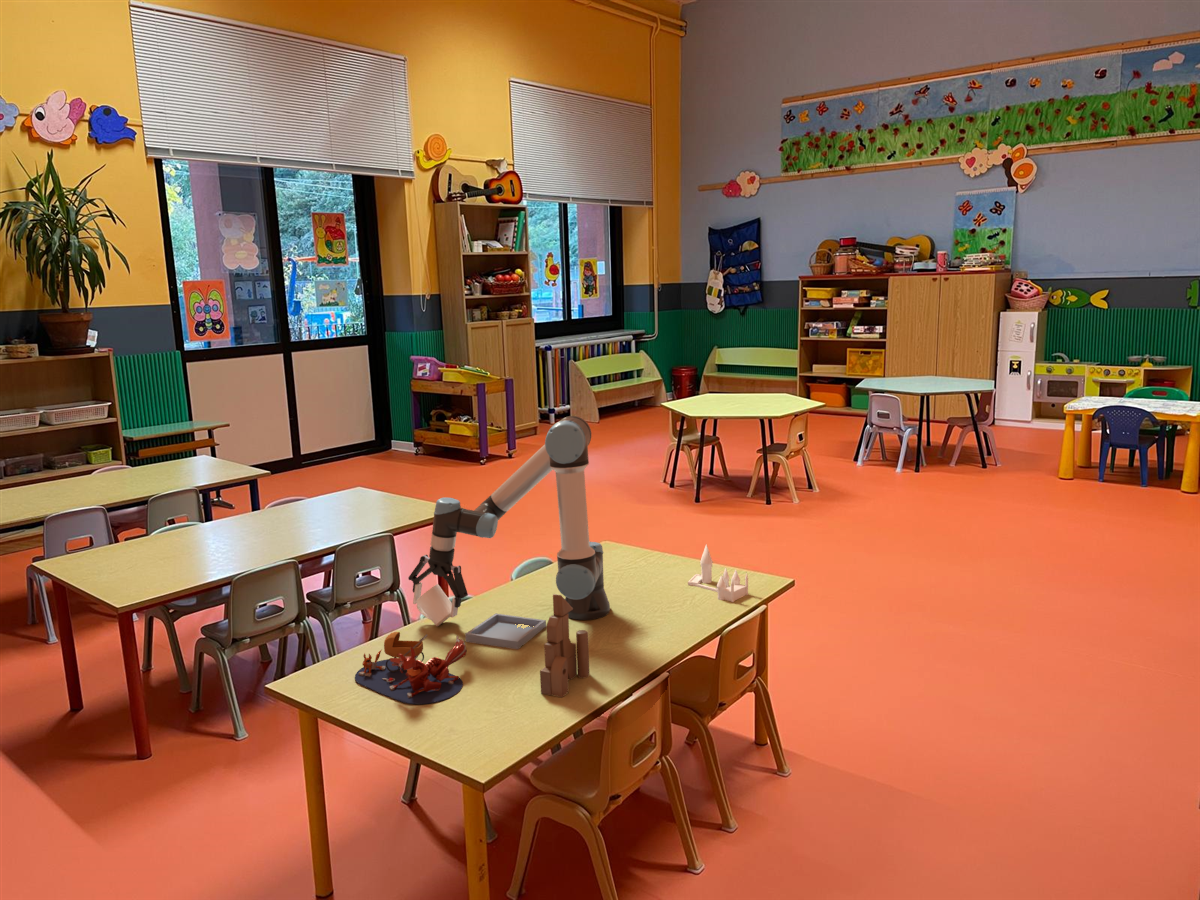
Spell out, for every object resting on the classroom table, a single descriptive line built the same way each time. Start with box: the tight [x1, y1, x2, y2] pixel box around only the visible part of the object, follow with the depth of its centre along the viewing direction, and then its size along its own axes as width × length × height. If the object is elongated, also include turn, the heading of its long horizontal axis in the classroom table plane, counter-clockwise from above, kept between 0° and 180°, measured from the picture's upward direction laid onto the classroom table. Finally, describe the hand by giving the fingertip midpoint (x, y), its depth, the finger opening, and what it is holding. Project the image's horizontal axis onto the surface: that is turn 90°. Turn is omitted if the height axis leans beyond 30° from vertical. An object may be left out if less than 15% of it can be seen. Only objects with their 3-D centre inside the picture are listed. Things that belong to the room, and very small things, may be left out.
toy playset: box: [354, 631, 467, 705], centre depth 245 cm, size 35×26×14 cm
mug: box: [416, 584, 452, 627], centre depth 281 cm, size 11×9×10 cm
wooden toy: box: [539, 593, 590, 698], centre depth 235 cm, size 16×7×25 cm, turn 152°
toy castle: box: [687, 543, 749, 603], centre depth 301 cm, size 14×25×16 cm, turn 45°
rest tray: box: [464, 613, 547, 650], centre depth 272 cm, size 18×18×3 cm
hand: (434, 610), depth 280 cm, fingers closed on mug, 13 cm apart
